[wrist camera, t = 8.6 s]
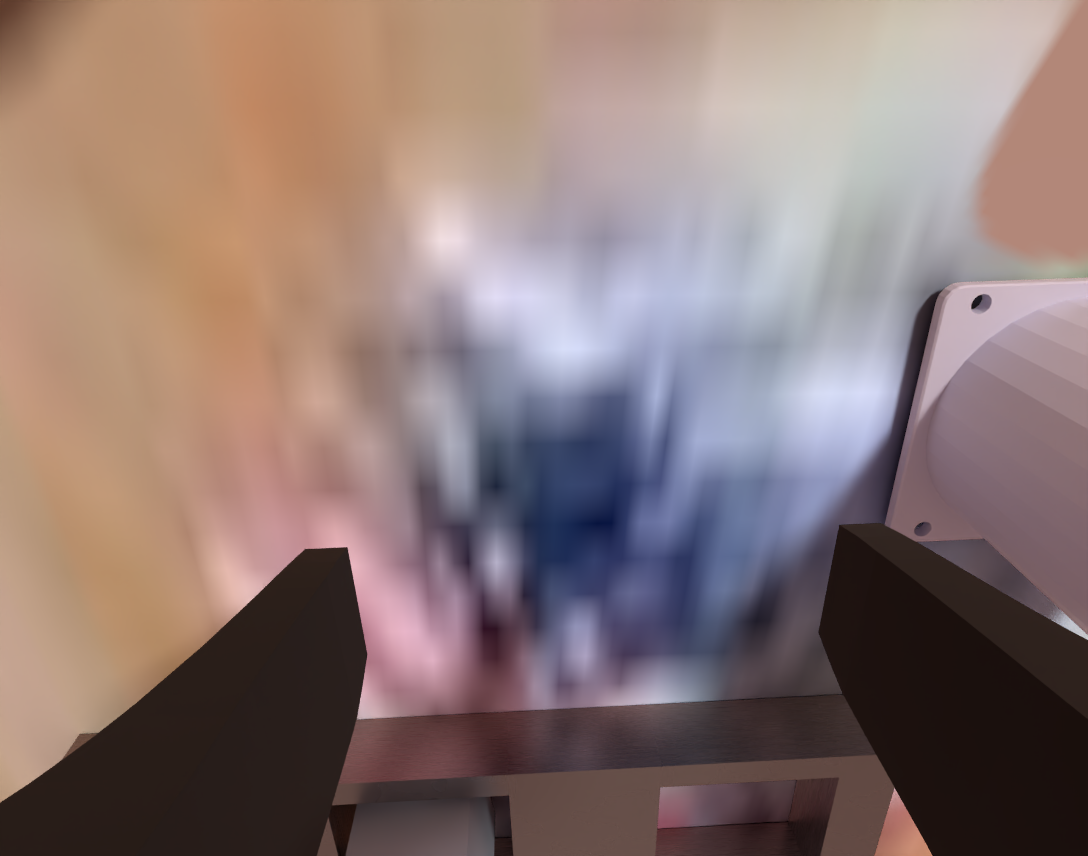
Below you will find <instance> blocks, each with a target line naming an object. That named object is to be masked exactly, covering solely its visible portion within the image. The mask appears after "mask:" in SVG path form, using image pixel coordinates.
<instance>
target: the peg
mask: <svg viewBox="0 0 1088 856" xmlns="http://www.w3.org/2000/svg"><path fill="white" fill-rule="evenodd" d="M494 839H495V811H494V807H493V804H492V801H491V797H473V798H454V799H436V800H418V801H400V802H382V803H363V804H357V806H356V811H355V815H354V820H353V824H352V829H351V833H350V838H349V842H348V847H347V851H346V856H494Z"/></svg>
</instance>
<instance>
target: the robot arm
mask: <svg viewBox="0 0 1088 856" xmlns="http://www.w3.org/2000/svg"><path fill="white" fill-rule="evenodd" d="M978 295H982V301H981V303H980V304H979V305H978V306H977V307H976V308H974V309H971V304H972V302H973V300H974V299H975V298H976V297H977V296H978ZM922 522H924V523H923V525H922V526H921V527H919V528H916V529H915V527H916V526H917V525H918V524H919V523H922ZM968 539H985V540H986V541H988V542H989V543H990V544H991V545H992V546H993V547H994V548H995V549H996V550H997V551H998V552H999V553H1000V554H1001V555H1003V556H1004V557H1005V558H1006V559H1007V560H1008V561H1009V562H1010V563H1011V564H1012V565H1013V566H1014V567H1015V568H1016V569H1018V570H1019V571H1020V572H1021V573H1022V574H1023V575H1024V576H1025V577H1026V578H1027V579H1028V580H1029V581H1030V582H1032V583H1033V584H1034V585H1035V586H1036V587H1037V588H1038V589H1039V590H1040V591H1041V592H1042V593H1043V594H1044V595H1045V596H1047V597H1048V598H1049V599H1050V600H1051V601H1052V602H1053V603H1054V604H1055V605H1056V606H1057V607H1058V608H1059V609H1060V610H1062V611H1063V612H1064V613H1065V614H1066V615H1067V616H1068V617H1069V618H1070V619H1071V620H1072V621H1073V622H1074V623H1076V624H1077V625H1078V626H1079V627H1080V628H1081V629H1082V630H1083V631H1084V632H1085V633H1086V634H1087V635H1088V278H1064V279H1036V280H1009V281H982V282H958V283H954V284H951V285H949V286H948V287H946V288H944V289H943V291H942V292H941V293H940V294H939V296H938V298H937V300H936V304H935V308H934V312H933V317H932V321H931V325H930V330H929V334H928V338H927V343H926V347H925V352H924V356H923V360H922V365H921V369H920V373H919V378H918V382H917V386H916V391H915V395H914V399H913V404H912V408H911V412H910V417H909V421H908V425H907V430H906V434H905V439H904V443H903V447H902V452H901V456H900V460H899V465H898V469H897V473H896V478H895V482H894V486H893V491H892V495H891V499H890V504H889V508H888V512H887V517H886V521H885V525H883V524H881V523H870V524H848V525H839V530H838V535H837V540H836V545H835V550H834V555H833V560H832V565H831V571H830V576H829V581H828V586H827V591H826V596H825V601H824V606H823V612H822V617H821V622H820V627H819V635H820V638H821V640H822V643H823V645H824V648H825V651H826V653H827V656H828V659H829V661H830V664H831V666H832V669H833V671H834V674H835V676H836V678H837V681H838V683H839V686H840V688H841V690H842V693H843V695H844V697H845V699H846V701H847V703H848V705H849V706H850V708H851V710H852V712H853V714H854V716H855V718H856V719H857V721H858V723H859V725H860V727H861V728H862V730H863V732H864V734H865V736H866V737H867V739H868V741H869V743H870V745H871V747H872V748H873V750H874V752H875V754H876V755H877V757H878V759H879V761H880V763H881V764H882V766H883V768H884V770H885V771H886V773H887V775H888V777H889V778H890V780H891V782H892V784H893V786H894V787H895V789H896V791H897V793H898V794H899V796H900V798H901V800H902V802H903V803H904V805H905V807H906V809H907V810H908V812H909V814H910V816H911V818H912V819H913V821H914V823H915V825H916V826H917V828H918V830H919V832H920V834H921V835H922V837H923V839H924V841H925V842H926V844H927V846H928V848H929V850H930V852H931V854H932V855H933V856H1088V640H1087V639H1085V638H1083V637H1081V636H1079V635H1077V634H1075V633H1073V632H1071V631H1070V630H1068V629H1066V628H1064V627H1062V626H1060V625H1059V624H1057V623H1055V622H1053V621H1051V620H1050V619H1048V618H1046V617H1044V616H1042V615H1041V614H1039V613H1037V612H1035V611H1034V610H1032V609H1030V608H1028V607H1027V606H1025V605H1023V604H1021V603H1020V602H1018V601H1016V600H1014V599H1013V598H1011V597H1009V596H1007V595H1006V594H1004V593H1002V592H1001V591H999V590H997V589H995V588H994V587H992V586H990V585H989V584H987V583H985V582H983V581H982V580H980V579H978V578H977V577H975V576H973V575H972V574H970V573H968V572H967V571H965V570H963V569H961V568H960V567H958V566H956V565H955V564H953V563H951V562H950V561H948V560H946V559H945V558H943V557H941V556H940V555H938V554H936V553H934V552H933V551H931V550H929V549H928V548H926V547H924V546H922V545H921V544H919V543H917V542H925V541H946V540H968ZM366 660H367V650H366V645H365V640H364V634H363V629H362V623H361V618H360V613H359V607H358V602H357V597H356V591H355V586H354V580H353V575H352V570H351V564H350V559H349V553H348V548H347V547H344V548H322V549H305V550H304V551H303V552H302V553H300V554H299V555H298V556H297V557H296V558H295V559H294V560H293V561H292V562H291V563H290V564H289V565H288V566H287V567H285V568H284V569H283V570H282V571H281V572H280V573H279V574H278V575H277V576H276V577H275V578H274V579H273V580H272V581H271V582H270V583H269V584H268V585H267V586H266V587H265V588H264V589H263V590H262V591H261V592H260V593H259V594H258V595H257V596H256V597H254V598H253V599H252V600H251V601H250V602H249V603H248V604H247V605H246V606H245V607H244V608H243V609H242V610H241V611H240V612H239V613H238V614H237V615H235V616H234V617H233V618H232V619H231V620H230V621H229V622H228V623H227V624H226V625H225V626H224V627H223V628H222V629H220V630H219V631H218V632H217V633H216V634H215V635H214V636H213V637H212V638H211V639H210V640H209V641H208V642H207V643H205V644H204V645H203V646H202V647H201V648H200V649H199V650H198V651H196V652H195V653H194V654H193V655H192V656H191V657H189V658H188V659H187V660H186V661H185V662H184V663H182V664H181V665H180V666H179V667H178V668H177V669H175V670H174V671H173V672H172V673H171V674H170V675H168V676H167V677H166V678H165V679H164V680H163V681H161V682H160V683H159V684H158V685H157V686H156V687H154V688H153V689H152V690H151V691H150V692H149V693H148V694H146V695H145V696H144V697H143V698H142V699H141V700H139V701H138V702H137V703H136V704H135V705H133V706H132V707H131V708H130V709H128V710H127V711H126V712H125V713H123V714H122V715H121V716H120V717H118V718H117V719H116V720H114V721H113V722H112V723H111V724H109V725H108V726H107V727H105V728H104V729H103V730H102V731H100V732H99V733H98V734H96V735H95V736H94V737H92V738H91V739H90V740H88V741H87V742H86V743H84V744H83V745H82V746H80V747H79V748H78V749H76V750H75V751H74V752H72V753H71V754H69V755H68V756H67V757H65V758H64V759H63V760H61V761H60V762H59V763H57V764H56V765H55V766H53V767H52V768H51V769H49V770H48V771H46V772H45V773H43V774H42V775H41V776H39V777H38V778H36V779H35V780H34V781H32V782H31V783H29V784H28V785H26V786H25V787H23V788H22V789H20V790H19V791H17V792H16V793H14V794H13V795H11V796H10V797H8V798H7V799H5V800H4V801H2V802H1V803H0V856H317V854H318V850H319V847H320V843H321V840H322V837H323V833H324V830H325V827H326V823H327V820H328V816H329V813H330V810H331V806H332V803H333V800H334V796H335V793H336V790H337V786H338V783H339V779H340V776H341V773H342V769H343V766H344V762H345V759H346V755H347V752H348V748H349V745H350V742H351V738H352V735H353V731H354V727H355V724H356V720H357V714H358V709H359V703H360V697H361V692H362V685H363V679H364V672H365V666H366Z"/></svg>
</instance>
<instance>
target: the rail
mask: <svg viewBox="0 0 1088 856" xmlns="http://www.w3.org/2000/svg"><path fill="white" fill-rule="evenodd" d="M96 734H98V733H95V734H79V736H78V737H77V739H76V740H75V742H74V743H73V745H72V746H71V748H70V749H69V751H68V752H67V753H66V755H65V756H64V758H65V757H67V756H68V755H69V754H71V753H72V752H74V751H75V750H76V749H78V748H79V747H80V746H82V745H83V744H84V743H86V742H87V741H88V740H90V739H91V738H92V737H94V736H95V735H96ZM64 758H63V759H64ZM63 759H62V760H63ZM781 780H797V782H796V787H795V792H794V797H793V802H792V807H791V812H790V817H789V822H779V823H761V824H744V825H726V826H708V827H691V828H673V829H657V824H658V810H659V796H660V787H672V786H691V785H709V784H727V783H745V782H763V781H781ZM893 791H894V786H893V784H892V782H891V780H890V778H889V777H888V775H887V773H886V771H885V770H884V768H883V766H882V764H881V763H880V761H879V759H878V757H877V755H876V754H875V752H874V750H873V748H872V747H871V745H870V743H869V741H868V739H867V737H866V736H865V734H864V732H863V730H862V728H861V727H860V725H859V723H858V721H857V719H856V718H855V716H854V714H853V712H852V710H851V708H850V706H849V705H848V703H847V701H846V699H845V697H844V695H827V696H808V697H788V698H769V699H750V700H731V701H711V702H692V703H673V704H654V705H634V706H615V707H596V708H577V709H557V710H538V711H519V712H500V713H480V714H461V715H442V716H423V717H403V718H384V719H365V720H356V724H355V727H354V731H353V735H352V738H351V742H350V745H349V748H348V752H347V755H346V759H345V762H344V766H343V769H342V773H341V776H340V779H339V783H338V786H337V790H336V793H335V796H334V800H333V803H332V806H331V810H330V813H329V816H328V820H327V823H326V827H325V830H324V833H323V837H322V840H321V843H320V847H319V850H318V854H317V856H346V851H347V847H348V842H349V838H350V833H351V829H352V824H353V820H354V815H355V811H356V806H357V804H363V803H382V802H400V801H418V800H436V799H454V798H473V797H491V796H509V802H510V816H511V829H512V838H496V839H494V856H874V855H875V851H876V848H877V845H878V841H879V838H880V835H881V831H882V828H883V824H884V821H885V818H886V814H887V811H888V808H889V804H890V801H891V798H892V794H893Z"/></svg>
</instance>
